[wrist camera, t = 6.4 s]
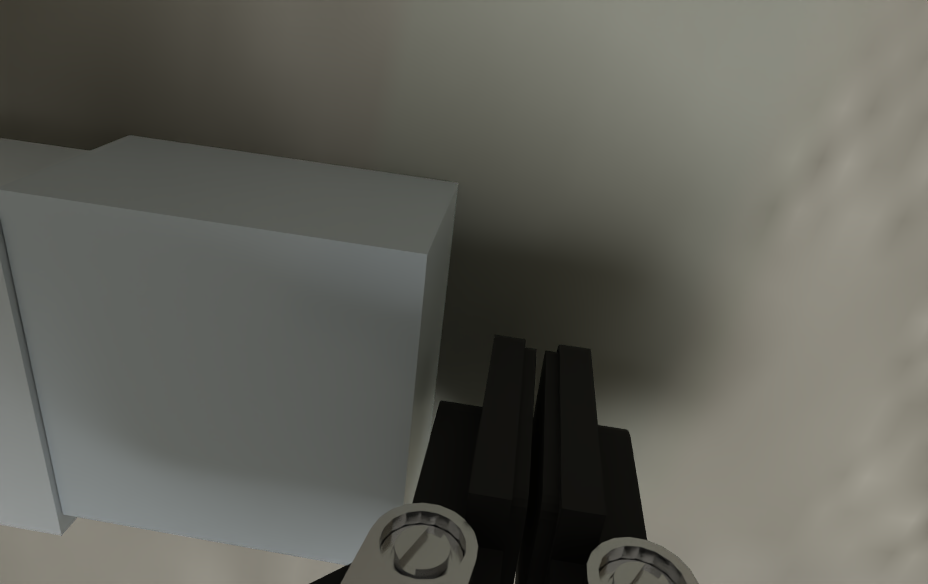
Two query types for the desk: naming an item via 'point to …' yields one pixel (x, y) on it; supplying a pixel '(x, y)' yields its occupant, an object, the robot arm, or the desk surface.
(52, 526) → the tile
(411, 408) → the tile trail
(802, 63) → the desk surface
